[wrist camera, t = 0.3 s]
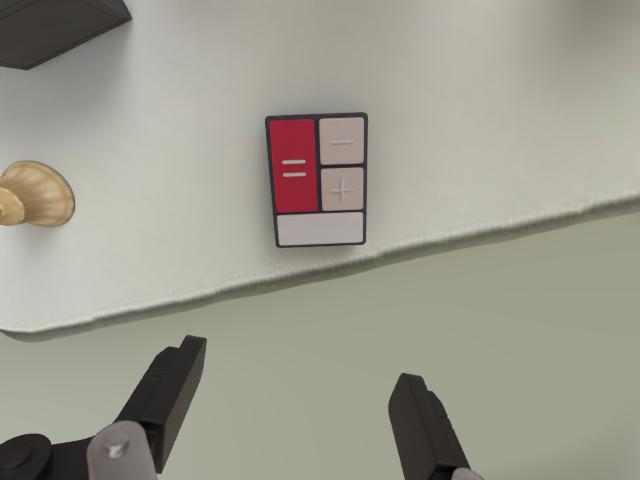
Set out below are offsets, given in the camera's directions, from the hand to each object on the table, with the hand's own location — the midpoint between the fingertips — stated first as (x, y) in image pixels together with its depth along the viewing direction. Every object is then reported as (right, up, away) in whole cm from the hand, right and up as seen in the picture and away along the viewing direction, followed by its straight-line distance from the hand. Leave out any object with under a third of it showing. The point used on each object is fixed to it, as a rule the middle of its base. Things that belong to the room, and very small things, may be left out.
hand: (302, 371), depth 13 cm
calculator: (+1, +13, +26) cm, 29 cm away
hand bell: (-34, +11, +26) cm, 44 cm away
